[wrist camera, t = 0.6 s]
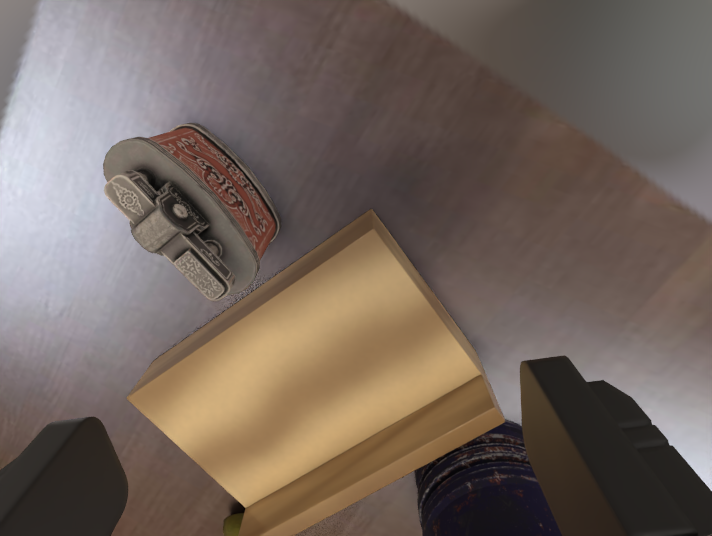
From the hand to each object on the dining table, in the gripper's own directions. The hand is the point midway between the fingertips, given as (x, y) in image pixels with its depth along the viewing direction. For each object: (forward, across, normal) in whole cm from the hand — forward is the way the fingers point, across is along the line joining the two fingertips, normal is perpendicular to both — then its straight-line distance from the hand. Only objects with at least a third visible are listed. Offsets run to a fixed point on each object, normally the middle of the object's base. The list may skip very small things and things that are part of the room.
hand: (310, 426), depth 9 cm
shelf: (+20, +4, +11) cm, 23 cm away
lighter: (+20, +7, -1) cm, 21 cm away
